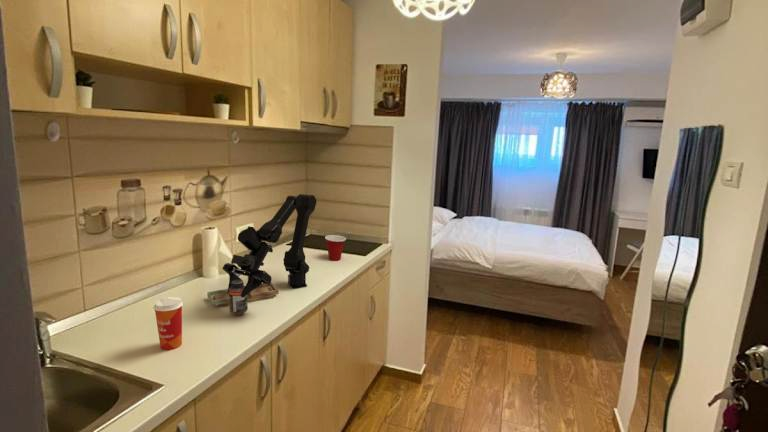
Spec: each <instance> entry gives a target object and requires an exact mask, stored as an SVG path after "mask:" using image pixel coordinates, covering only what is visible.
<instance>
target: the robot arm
mask: <svg viewBox="0 0 768 432" xmlns="http://www.w3.org/2000/svg"><path fill="white" fill-rule="evenodd" d="M316 206H317V198H316V196H315V195H312V194H306V193H305V194H304V193H300V194H298V195H287V196H286V198H285V201H284V202H283V204H282V205H281V207H279V209H278V210H277V212H276V213H275V214H274V216H273V217H272V218H271V219H270V220H268V221H267V222H265V223H264V224H263V225H261V226H260V227H259V229H257V230H256V229H255V227H253V226H250V225H249V226H248V227H246V228H245V229H242V230H241V231H240V232H239V233H238V235H237V240H238V242H239V243H240V244H241V245H243V247H244V248H246V249H247V250H249V253H248V254H247V253H246V254H244V255H243V256H241V255H237V254H232V257H231V260H230V262H227V263H224V265H223V266H222V268H221V269H222V270H223V271H224V272H225V273H227V274H228V277H229V278H228V279H229V280H228V287H227V289H228V291H227V293H228V294H229V288H230V287H231V282H232V281H233V280H243V279H242V278H241V277H240V276H245V277H247V282H246V284H245V285H244V286H245V288H244V290H243V292H242V294H241V297H245V296H246V295H247V294H249V293H250V292H251V291H252V290H254V289H255V288H257V287H258V286H260V285H263V284H268V285H269V284H270V282H271V283H272V276H271V275H270V274H269V273H268V272H267V271H266V270H261V269H260V268H261V266H262V267H263V266H264V265H265V263H264V260H265V258H266V256H267V255H268V253H273V252H274V250H273V245H271V244H275V243H277V242H278V241H279V240H280V238H281V236H282V234H283V227H284V226H285V224H286V222H287V221H288V220H289V219H290V217H291V216H292V214H293V213H294V211H296V213H297V215H296V219H295V225H294V229H293V230H294V231H293V235H292V241H291V245H290V246H291V247H290V248H289V250H288V251H287V250H286V251H284V258H283V260H282V261H283V266H284V269H285V271H286V272H288V275H287V285H288V286H289V287H290V288H292V289H299V288H304V287H307V286H308V285H307V283H306V279H307V278H306V277H307V274H308V272H309V271H310V266H309V264H308V263H307V262H306V255H305V251H304V246H305V241H306V235H307V230H308V225H309V220H310V216H311V215H312V214H313V212H315V209H316ZM268 243H271V244H268ZM262 283H263V284H262Z"/></svg>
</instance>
